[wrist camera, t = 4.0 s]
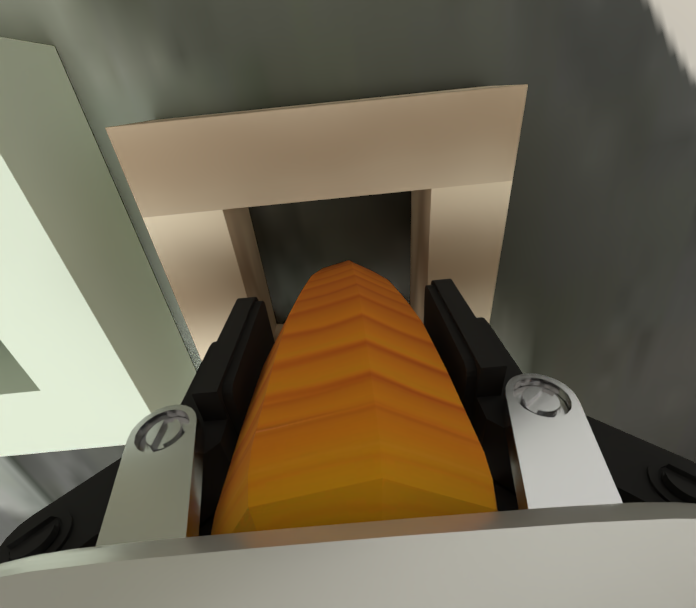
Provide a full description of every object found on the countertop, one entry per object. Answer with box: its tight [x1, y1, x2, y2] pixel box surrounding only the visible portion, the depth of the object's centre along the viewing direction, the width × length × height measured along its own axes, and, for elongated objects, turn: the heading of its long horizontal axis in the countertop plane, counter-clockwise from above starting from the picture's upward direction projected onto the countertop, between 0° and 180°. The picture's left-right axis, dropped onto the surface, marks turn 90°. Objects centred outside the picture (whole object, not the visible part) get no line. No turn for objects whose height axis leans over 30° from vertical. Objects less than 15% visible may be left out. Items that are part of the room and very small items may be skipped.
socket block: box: [105, 84, 528, 360], centre depth 14 cm, size 12×12×3 cm
